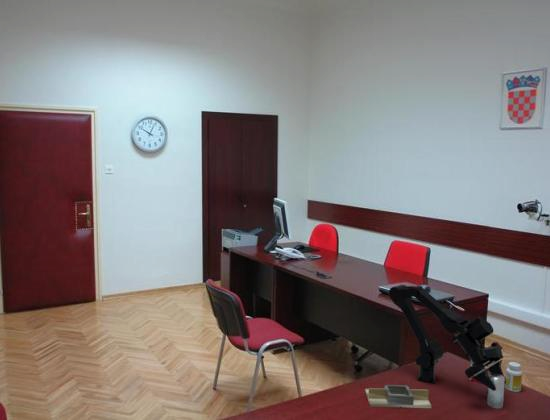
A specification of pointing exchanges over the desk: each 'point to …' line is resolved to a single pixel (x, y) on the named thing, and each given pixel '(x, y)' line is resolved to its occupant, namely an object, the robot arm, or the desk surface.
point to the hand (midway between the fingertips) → (500, 386)
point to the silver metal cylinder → (496, 391)
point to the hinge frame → (398, 397)
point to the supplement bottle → (513, 377)
